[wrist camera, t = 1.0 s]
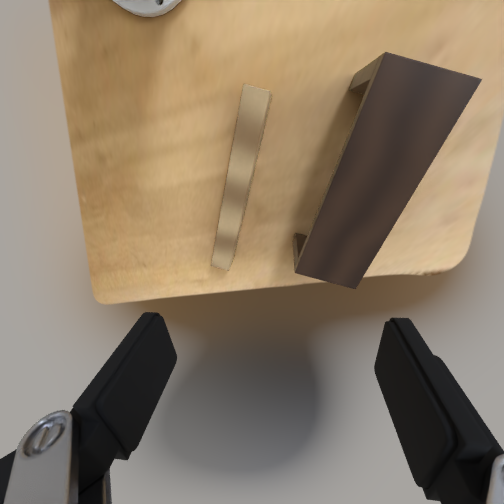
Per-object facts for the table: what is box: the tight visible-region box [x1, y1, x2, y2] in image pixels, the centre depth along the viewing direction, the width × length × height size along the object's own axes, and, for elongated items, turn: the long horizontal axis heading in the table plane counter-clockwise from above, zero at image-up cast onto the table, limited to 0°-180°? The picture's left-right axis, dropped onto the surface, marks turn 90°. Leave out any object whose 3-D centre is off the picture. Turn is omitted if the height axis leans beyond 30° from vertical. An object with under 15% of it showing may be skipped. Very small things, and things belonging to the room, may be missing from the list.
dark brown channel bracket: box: [293, 52, 482, 289], centre depth 27 cm, size 8×22×9 cm, turn 166°
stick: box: [211, 84, 272, 271], centre depth 32 cm, size 24×3×4 cm, turn 166°
